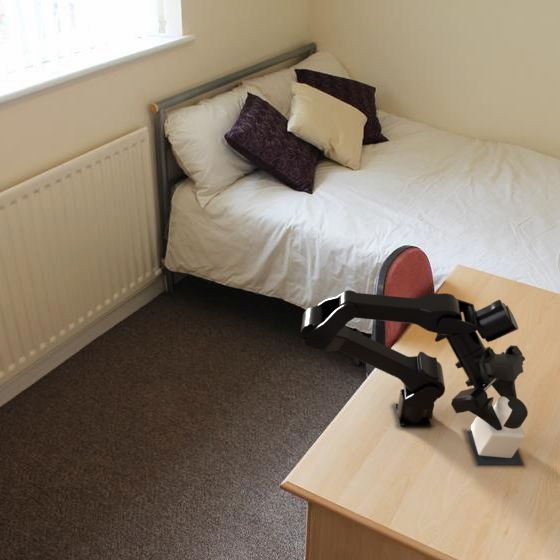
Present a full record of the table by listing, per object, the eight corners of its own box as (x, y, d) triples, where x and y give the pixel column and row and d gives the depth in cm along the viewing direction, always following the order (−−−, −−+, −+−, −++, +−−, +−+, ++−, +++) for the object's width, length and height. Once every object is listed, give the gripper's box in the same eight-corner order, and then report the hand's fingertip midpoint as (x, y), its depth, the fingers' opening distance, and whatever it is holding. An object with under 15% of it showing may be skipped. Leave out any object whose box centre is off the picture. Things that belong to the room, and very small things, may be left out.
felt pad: (478, 465, 140) (478, 464, 140) (466, 432, 148) (466, 431, 148) (522, 465, 141) (522, 464, 141) (508, 432, 148) (508, 431, 148)
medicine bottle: (502, 429, 147) (525, 392, 139) (511, 459, 142) (536, 422, 134) (469, 426, 146) (491, 389, 138) (478, 456, 140) (501, 418, 133)
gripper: (478, 363, 126) (521, 439, 127) (525, 320, 138) (564, 389, 139) (433, 376, 135) (472, 447, 135) (480, 334, 147) (517, 400, 147)
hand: (508, 420), depth 139 cm, fingers closed on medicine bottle, 7 cm apart
